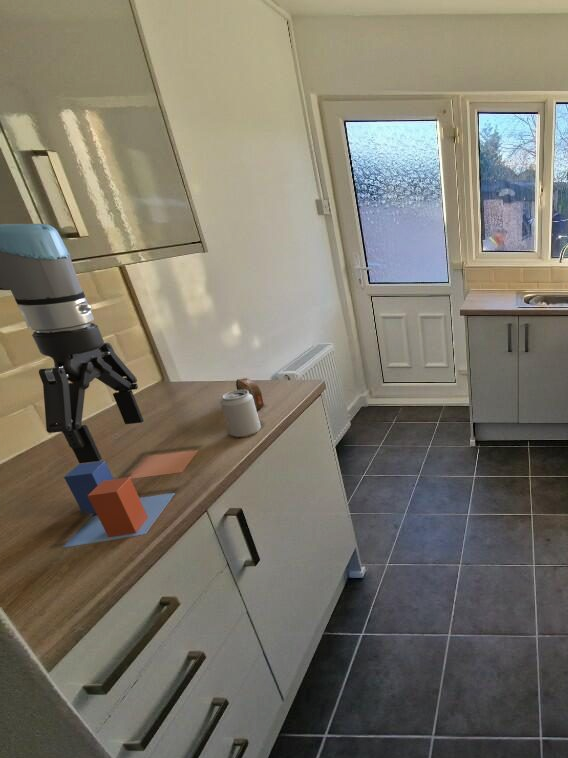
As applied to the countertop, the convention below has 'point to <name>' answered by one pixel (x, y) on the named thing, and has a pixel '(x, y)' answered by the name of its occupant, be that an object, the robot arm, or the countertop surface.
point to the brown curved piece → (251, 391)
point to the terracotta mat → (163, 464)
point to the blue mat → (97, 533)
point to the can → (240, 413)
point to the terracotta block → (118, 507)
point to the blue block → (87, 482)
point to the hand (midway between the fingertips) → (114, 440)
